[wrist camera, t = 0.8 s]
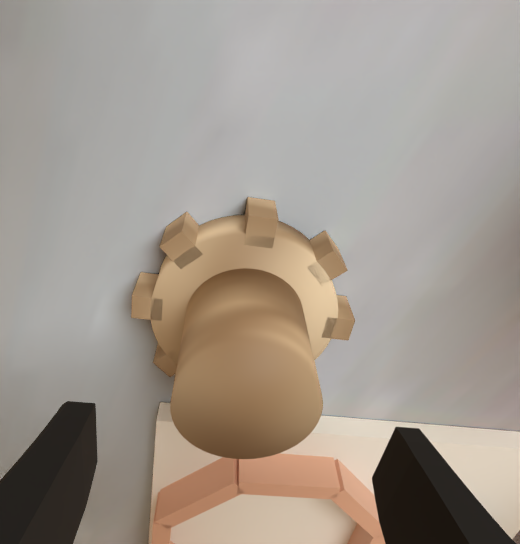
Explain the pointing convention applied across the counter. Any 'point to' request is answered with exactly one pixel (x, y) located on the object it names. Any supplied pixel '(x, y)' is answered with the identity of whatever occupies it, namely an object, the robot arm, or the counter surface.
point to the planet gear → (244, 328)
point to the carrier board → (313, 484)
